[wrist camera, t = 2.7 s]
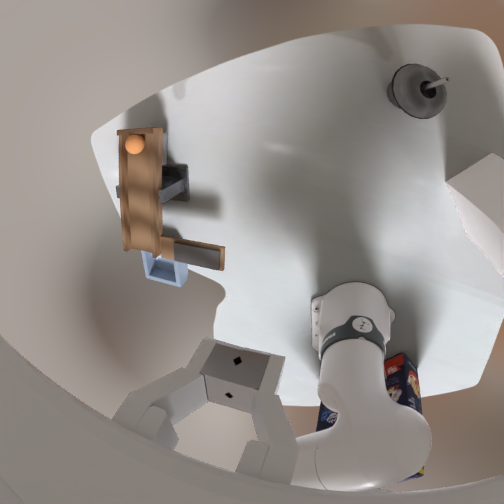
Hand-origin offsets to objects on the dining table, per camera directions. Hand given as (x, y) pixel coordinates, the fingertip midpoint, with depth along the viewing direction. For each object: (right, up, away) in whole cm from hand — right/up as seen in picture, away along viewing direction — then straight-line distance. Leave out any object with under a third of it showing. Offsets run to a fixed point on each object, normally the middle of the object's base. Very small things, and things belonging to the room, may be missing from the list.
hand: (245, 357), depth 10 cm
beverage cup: (+24, +29, +25) cm, 45 cm away
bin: (-19, +3, +54) cm, 58 cm away
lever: (-13, +15, +41) cm, 46 cm away
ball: (-20, +23, +34) cm, 46 cm away
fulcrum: (-18, +18, +45) cm, 52 cm away
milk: (+41, +14, +27) cm, 52 cm away
